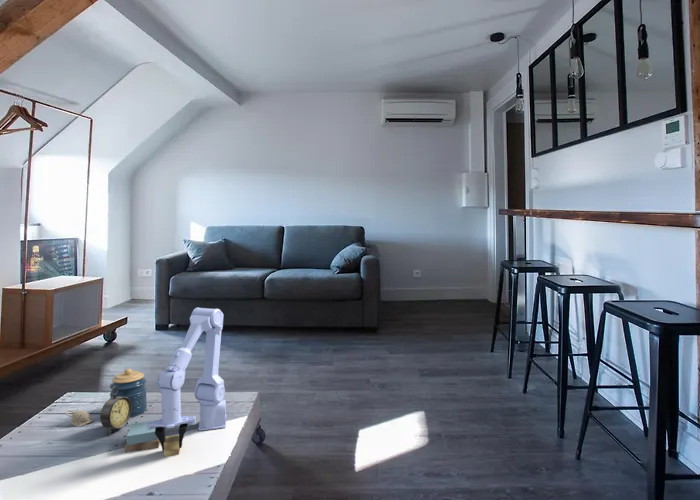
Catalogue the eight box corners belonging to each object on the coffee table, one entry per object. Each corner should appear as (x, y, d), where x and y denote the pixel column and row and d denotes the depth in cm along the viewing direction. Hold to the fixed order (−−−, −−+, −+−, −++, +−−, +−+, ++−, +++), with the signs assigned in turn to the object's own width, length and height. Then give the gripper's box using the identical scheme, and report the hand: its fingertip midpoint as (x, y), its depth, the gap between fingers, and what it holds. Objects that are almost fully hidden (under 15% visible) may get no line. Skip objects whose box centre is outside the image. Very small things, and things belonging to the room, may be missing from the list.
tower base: (163, 435, 146) (163, 427, 146) (158, 449, 136) (158, 440, 136) (132, 439, 143) (132, 430, 143) (125, 454, 133) (125, 445, 133)
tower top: (159, 427, 145) (159, 419, 145) (157, 439, 137) (157, 431, 136) (131, 432, 142) (131, 423, 142) (127, 445, 133) (127, 436, 133)
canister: (145, 402, 172) (144, 361, 172) (148, 414, 161) (147, 370, 160) (110, 409, 166) (108, 366, 165) (110, 422, 155) (109, 376, 154)
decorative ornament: (86, 426, 152) (86, 412, 151) (64, 426, 152) (63, 412, 151) (93, 421, 156) (93, 407, 155) (71, 421, 156) (71, 407, 155)
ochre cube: (180, 447, 136) (180, 434, 136) (178, 454, 132) (178, 441, 132) (166, 449, 135) (165, 436, 135) (164, 456, 131) (163, 443, 131)
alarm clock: (110, 437, 143) (109, 392, 142) (97, 436, 144) (96, 391, 143) (133, 423, 154) (132, 381, 153) (120, 422, 155) (119, 380, 154)
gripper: (144, 415, 127) (145, 457, 128) (193, 409, 131) (194, 450, 132) (148, 405, 134) (149, 446, 135) (195, 400, 138) (196, 439, 139)
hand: (172, 447), depth 134 cm, fingers closed on ochre cube, 4 cm apart
